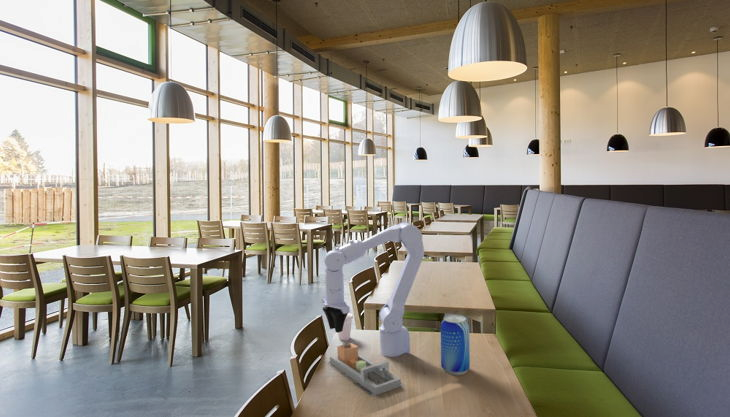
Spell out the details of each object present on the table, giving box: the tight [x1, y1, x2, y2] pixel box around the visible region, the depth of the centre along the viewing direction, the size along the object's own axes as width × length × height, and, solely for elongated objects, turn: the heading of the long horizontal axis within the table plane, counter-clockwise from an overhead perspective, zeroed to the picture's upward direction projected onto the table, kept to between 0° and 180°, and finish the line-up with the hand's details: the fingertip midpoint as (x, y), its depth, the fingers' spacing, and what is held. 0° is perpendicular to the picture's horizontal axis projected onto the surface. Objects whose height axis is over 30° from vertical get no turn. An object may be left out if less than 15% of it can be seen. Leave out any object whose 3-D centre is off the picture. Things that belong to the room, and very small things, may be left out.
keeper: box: [336, 342, 359, 370], centre depth 134 cm, size 5×6×6 cm
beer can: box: [440, 314, 471, 376], centre depth 131 cm, size 8×8×16 cm
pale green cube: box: [355, 361, 366, 374], centre depth 129 cm, size 3×3×3 cm
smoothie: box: [337, 312, 354, 341], centre depth 156 cm, size 6×6×14 cm
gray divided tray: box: [329, 353, 405, 398], centre depth 129 cm, size 11×26×3 cm, turn 33°
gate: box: [360, 360, 390, 387], centre depth 123 cm, size 9×1×6 cm, turn 123°
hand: (336, 330), depth 140 cm, fingers open, 3 cm apart
